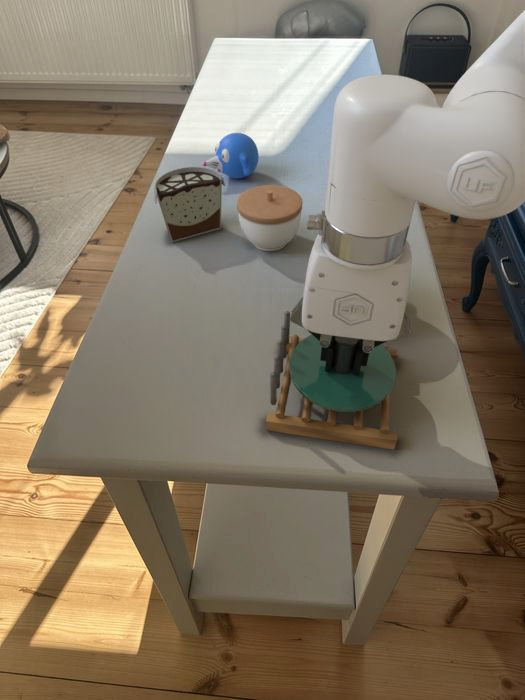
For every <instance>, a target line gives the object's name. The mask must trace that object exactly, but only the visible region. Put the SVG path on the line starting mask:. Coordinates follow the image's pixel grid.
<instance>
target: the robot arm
mask: <svg viewBox="0 0 525 700" xmlns="http://www.w3.org/2000/svg"><path fill="white" fill-rule="evenodd" d="M330 137H331V138H330V149H329V159H328V172H327V183H326V193H325V205H324V210H321V213H317V214H308V216H307V225H306V227H307V228H306V229H307V230H308V231H309V230H310V231H314V232H316V233H318V234H317V236H316V237H315V240H314V243H313V245H312V248H311V252H310V255H309V258H308V261H307V262H308V263H307V267H306V273H305V280H304V286H303V287H304V289H303V296H302V297H301V298H300V300H299V301H298V303H297V304H296V305H295V307H293V309H292V310H291V313H290V323H293V324H294V325H296V326H299V327H301V328H303V329H305V330H307V332H308V333H310V335H313V336H314V337H315V338H316V339H318V340H319V341H320V342H319V345H320V346H321V347H322V348H321V357H320V360H321V361H326V366H325V372H329V371H331V367H332V360H333V353H334V345H335V336H341V337H349V338H357V339H359V340H358V345H357V350H356V355H355V361H354V366H353V374H354V375H355V376H359V373H360V368H361V366H367V361H368V357H369V353H371V352H373V350H374V347H376V346H379V345H382V344H385V343H387V342H389V341H392V340H395V339H399V338H405V337H408V336H410V334H411V323H410V321H409V319H408V316H407V313H406V307H407V301H408V296H409V290H410V285H411V284H410V283H411V278H412V277H411V276H412V259H413V258H412V250H411V245H410V243H409V241H408V240H407V238H408V234H409V229H410V225H411V222H412V218H413V214H414V209H415V206H416V202H418V203H421V204H424V205H426V206H429V207H431V208H433V209H436V210H437V211H441V212H444V213H447V214H449V215H452V216H456V217H458V218H459V217H460V218H462V219H463V218H464V219H469V220H492V219H496V218H500V217H503V216H505V215H508V214H510V213H512V212H514V211H515V210H517V209H519V208H520V207H521V206H522V205H524V203H525V9H524V10H523V11H522V12H521V13H520V14H519V15H518V16H517V17H516V19H514V20H513V22H512V23H511V24H510V25H509V26H507V28H506V29H505V30H504V31H503V32H502V33H501V34H500V35H499V36H498V37H497V38H496V39H495V40H494V41H493V43H491V45H489V47H487V49H486V50H485V51H484V52H483V53H482V54H481V55H480V56H479V57H478V58H477V59H476V60H475V61H474V62H473V64H471V66H470V67H468V69H467V70H466V71H465V72H464V74H463V75H462V76H461V77H460V78H459V79H458V80H457V82H456V83H455V85H454V86H453V87H452V88H451V90H450V91H449V93H448V94H447V96H446V98H445V100H444V102H443V104H442V107H441V106H439V105H438V102H437V99H436V96H435V93H434V92H433V90H432V89H431V88H430V87H428V85H426V84H425V83H423V82H421V81H419V80H418V79H414V78H410V77H408V76H403V75H396V74H371V75H367V76H362V77H358V78H355V79H353V80H351V81H349V82H348V83H347V84H346V85H344V86H343V87H342V89H341V90H340V91H339V93H338V94H337V96H336V99H335V103H334V108H333V117H332V127H331V136H330Z"/></svg>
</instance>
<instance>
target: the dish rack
mask: <svg viewBox="0 0 525 700" xmlns="http://www.w3.org/2000/svg"><path fill="white" fill-rule="evenodd" d="M290 318H291V312H290V311H288V310H287V311H284V320H283V321H284V323H283V324H282V326H281V327H280V329H281V330H280V339H279V340H278V341H277V354H276V355H274V358H273V371H272V372H271V373H270V375H269V376H270V377H269V381H270V383H269V384H270V387H269V388H270V393H269V395H270V396H269V397H270V405H271V406H275V405H277V406H276V412H275V413H272V412H268V413H267V416H266V420H265V421H266V422H265V425H266V429H265V430H266V431H268V432H275V433H282V434H286V435H288V434H289V435H295V436H300V437H306V438H314V439H319V440H320V439H321V440H327V441H332V442H341V443H347V444H353V445H354V444H355V445H359V446H367V447H373V448H380V449H387V450H395V448H396V445H397V442H398V431H394V430H390V410H391V407H390V405H391V402H390V401H391V400H390V399H391V392H390V393H389V395H388V396H387V397H386V398H385V399H384V400H383V401H382V402H380V418H379V419H380V421H379V422H380V423H379V428H374V427H368V426H367V427H366V426H363V425H364V410H362V411H356V412H353V413H354V414H353V424H346V423H339V422H337V418H338V417H337V416H338V411H333V410H329V409H328V411H327V420H318V419H314V418H313V419H311V416H312V410H313V409H312V408H313V403H312V402H310V401H309V400H308V399H306V398H305V397H304V400H303V405H302V412H301V417H299V416H292V415H285V414H286V409H287V403H288V400H289V399H288V398H289V393H290V387H291V383H292V379H291V376H290V371H289V364H290V358H291V354H292V352H293V350H294V349H295V347H296V346H297V345H298V344H299V343H300V342H301V341H302V340H303V339H305V338H306V337H300V336H299V335H298V334H293V335H292V336H290V332H291V329H290V328H291V320H290ZM383 347H384V348H385V349H386V350H387V351H388V352H389V354H390V355H391V357H392V359H393V361H394V364H395V365H396V363H397V359H398V349H396V348H391V347H390V346H388V345H385V346H383ZM287 353H288V354H287ZM286 358H287V359H286ZM284 359H286V362H285V363H286V364H285V367H284ZM283 372H284V373H283ZM281 374H283V378H282V382H281ZM280 387H281V388H280ZM278 389H280V392H279V397H278V402H277V390H278Z"/></svg>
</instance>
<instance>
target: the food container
mask: <svg viewBox="0 0 525 700" xmlns="http://www.w3.org/2000/svg"><path fill="white" fill-rule="evenodd" d="M223 187H226V183H225V180H224V178H223V176H222V173H220V172H218V171H216V170H215V169H213V168H209V167H208V168H207V167H204V166H187V167H180V168H176V169H172V170H169V171H167V172H166V173H163V174H162V175H161V176H159V178H158V179H157V180H156V181H155V183H154V188H153V201H154V204H155V205H156V204H157V203H158V205H159V207H160V210H161V214H162V217H163V220H164V223H165V226H166V229H167V233H168V236H169V240H170V242H171V243H176V242H179V241H183V240H186V239H189V238H193V237H197V236H201V235H204V234H207V233H211V232H214V231H217V230H221V229H222V199H223V198H222V196H223V195H222V193H223V192H222V191H223ZM157 200H158V202H157Z"/></svg>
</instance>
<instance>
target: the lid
mask: <svg viewBox="0 0 525 700" xmlns="http://www.w3.org/2000/svg"><path fill="white" fill-rule="evenodd" d="M304 338H305V339H303V340H302V341H301V342H300V343H299V344H298V345H297V346H296V347H295V349H294V350H293V352H292V354H291V358H290V364H289V371H290V376H291V383H293V385H294V388H296V390H297V391H298V392H299V394H301V396H303V397H304V399H305V398H306V399H308V400H309V401H310V402H312V404H314V405H316V406H318V407H320V408H322V409H326V410H328V411H329V410H333V411H337V412H340V413H354V412H356V411H362V410H363V411H366V410H368V409H371V408H374V407H375V406H377V405H379V404H381V402H382V401H383V400H384V399H385V398H386V397H387V396H388V395H389V393H390V394H391V392H392V390H393V388H394V386H395V383H396V378H397V368H396V363H395V364H394V361H393V359H392V357H391V355H390V354H389V352H388V351H387V350H386V349H385V348H384V347H385V346H384V345H382V344H381V345H379V346H376V347H374V350H373V352H371V353H369V357H368V361H367V366H361V368H360V373H359V376H355V375H354V374H353V366H354V361H355V355H356V350H357V345H358V340H359V339H357V338H349V337H341V336H335V345H334V353H333V360H332V367H331V371H329V372H325V366H326V361H321V360H320V357H321V348H322V347H321V346H320V345H319V342H320V341H319V340H318V339H316V338H315V337H314V336H313V335H312V334H310V335H308V336H306V337H304Z"/></svg>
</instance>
